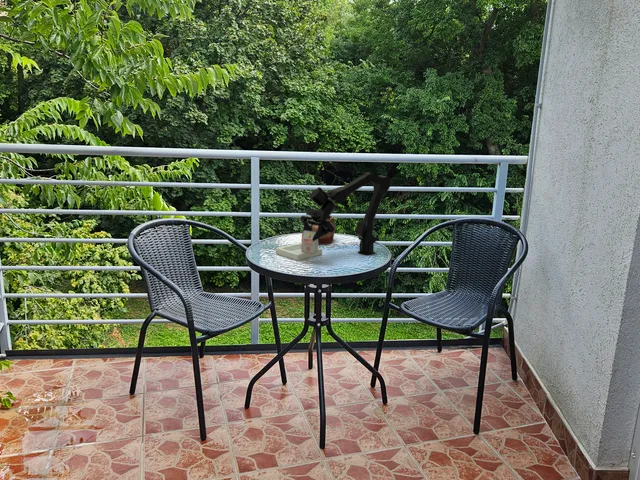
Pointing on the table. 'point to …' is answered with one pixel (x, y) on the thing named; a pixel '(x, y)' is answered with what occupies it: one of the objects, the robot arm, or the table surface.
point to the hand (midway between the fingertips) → (307, 238)
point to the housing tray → (295, 252)
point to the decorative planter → (327, 237)
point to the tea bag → (309, 243)
